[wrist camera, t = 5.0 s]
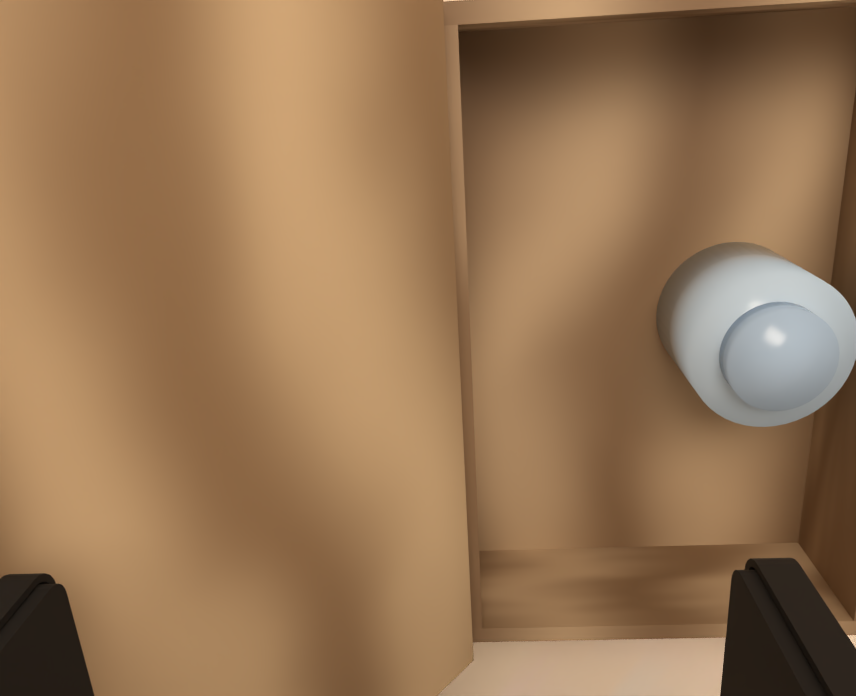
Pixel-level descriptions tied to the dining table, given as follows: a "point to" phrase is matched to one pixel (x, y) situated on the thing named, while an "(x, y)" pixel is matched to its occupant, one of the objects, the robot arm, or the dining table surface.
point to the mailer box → (640, 303)
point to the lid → (234, 342)
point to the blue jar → (756, 334)
